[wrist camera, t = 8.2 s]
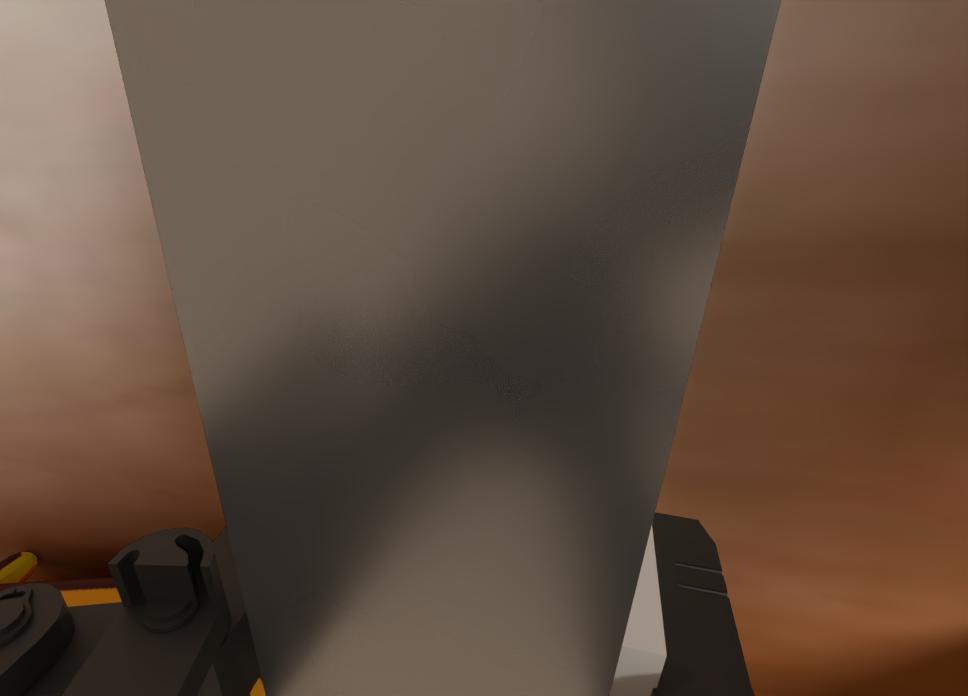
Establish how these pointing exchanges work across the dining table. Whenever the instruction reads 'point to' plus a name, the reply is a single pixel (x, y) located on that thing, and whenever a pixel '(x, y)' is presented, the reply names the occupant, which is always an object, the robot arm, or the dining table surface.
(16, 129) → the dining table surface
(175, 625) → the robot arm
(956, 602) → the dining table surface
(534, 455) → the rail
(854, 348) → the dining table surface
